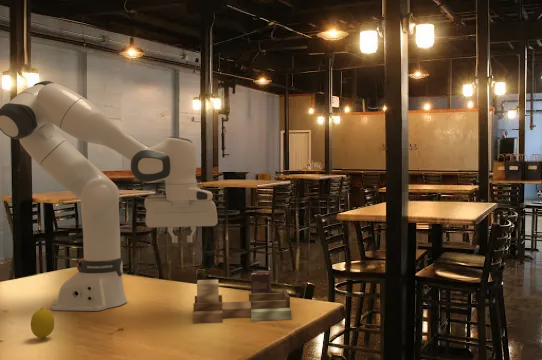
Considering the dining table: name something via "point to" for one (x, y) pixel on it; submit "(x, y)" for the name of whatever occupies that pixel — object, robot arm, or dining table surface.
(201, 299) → the block
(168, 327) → the dining table surface
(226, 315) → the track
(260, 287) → the box
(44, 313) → the lemon
